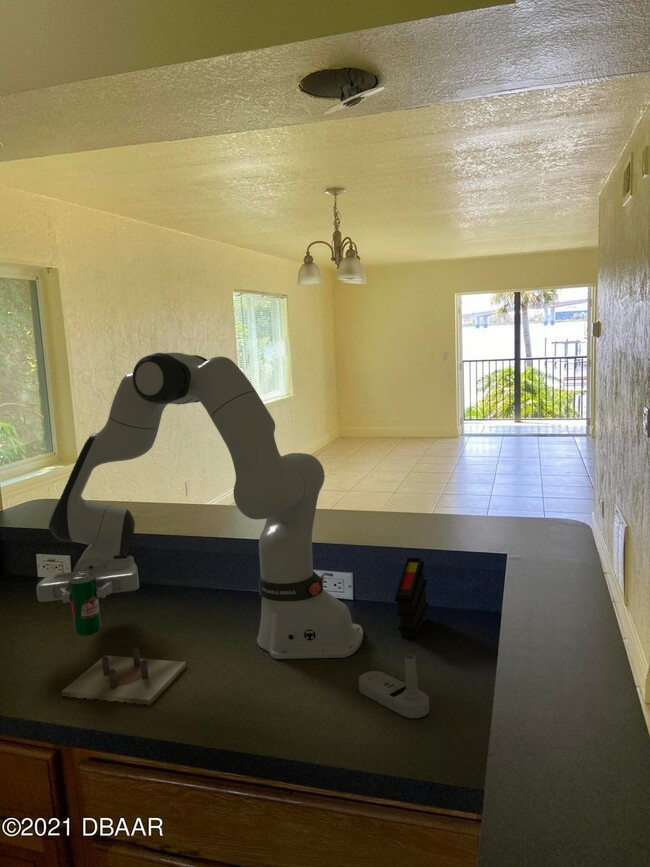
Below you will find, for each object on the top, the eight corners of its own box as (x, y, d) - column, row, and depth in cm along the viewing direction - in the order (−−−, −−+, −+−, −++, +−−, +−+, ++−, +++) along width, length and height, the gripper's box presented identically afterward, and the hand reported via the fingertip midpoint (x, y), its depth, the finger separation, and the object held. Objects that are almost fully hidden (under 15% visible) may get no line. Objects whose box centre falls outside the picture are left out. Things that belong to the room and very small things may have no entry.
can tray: (186, 666, 128) (184, 644, 128) (150, 705, 115) (148, 680, 114) (105, 660, 133) (103, 638, 132) (62, 696, 119) (59, 672, 119)
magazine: (431, 605, 148) (423, 557, 140) (419, 653, 137) (409, 603, 130) (415, 604, 149) (406, 556, 141) (402, 650, 139) (391, 601, 131)
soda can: (86, 638, 128) (79, 580, 126) (69, 634, 131) (62, 577, 129) (106, 628, 132) (100, 572, 131) (90, 624, 135) (83, 568, 133)
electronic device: (371, 630, 119) (432, 656, 107) (375, 681, 120) (436, 712, 108) (349, 640, 116) (410, 667, 104) (353, 692, 117) (414, 724, 105)
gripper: (42, 566, 141) (26, 588, 127) (140, 554, 144) (133, 575, 131) (46, 593, 142) (30, 619, 128) (142, 582, 145) (137, 605, 132)
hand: (83, 596), depth 130 cm, fingers closed on soda can, 5 cm apart
